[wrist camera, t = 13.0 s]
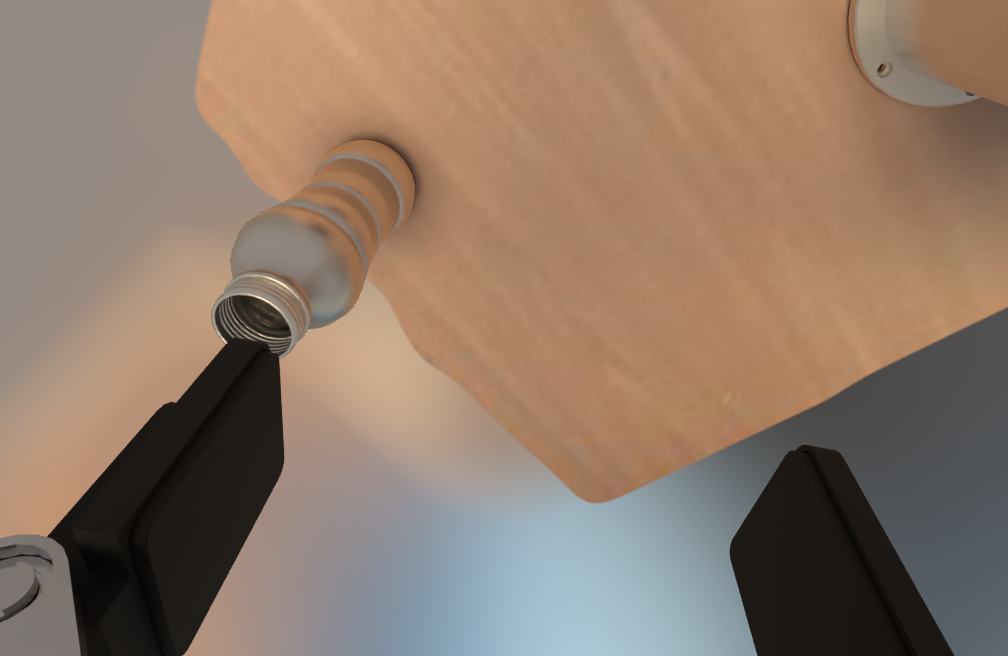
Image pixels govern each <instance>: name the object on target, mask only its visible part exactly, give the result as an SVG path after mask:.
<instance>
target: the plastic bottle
mask: <svg viewBox="0 0 1008 656" xmlns="http://www.w3.org/2000/svg"><path fill="white" fill-rule="evenodd" d="M414 197H415V184H414V179H413V176H412V173H411V171H410V169H409V167H408V165H407V164H406V163H405V161H404V160H403V159H402V157H401V156H399V155H398V154H397V153H396V152H395V151H394V150H392V149H391V148H389V147H388V146H386V145H384V144H381V143H379V142H376V141H372V140H355V141H350V142H347V143H343V144H341V145H339V146H336V147H335V148H333V149H332V150H331V151H329V152H328V154H327V155H326V156H325V157H324V159H323V160H322V162H321V163H320V165H319V166H318V169H317V171H316V173H315V175H314V177H313V179H312V180H311V181H310V183H309V184H308V185H307V186H306V188H304V189H303V190H302V191H300V192H299V193H297V194H296V195H295V196H293V197H292V198H291V199H289V200H286V201H284V202H282V203H280V204H278V205H276V206H274V207H272V208H270V209H268V210H266V211H263V212H262V213H260V214H259V215H257V216H256V217H254V218H252V219H251V220H250V221H248V222H247V223H246V224H245V225H244V226H243V228H242V229H241V230H240V231H239V233H238V236H237V238H236V241H235V244H234V246H233V249H232V252H231V259H230V263H231V272H232V276H233V279H232V281H231V282H230V283H229V284H228V285H227V286H226V288H225V291H224V293H223V294H222V295H221V296H220V297H219V298H218V299H217V301H216V302H215V304H214V306H213V309H212V314H211V318H212V324H213V326H214V329H215V331H216V333H217V335H218V336H219V337H220V339H221V340H222V341H223V342H224V343H225V344H226V343H227V342H228V341H229V340H230V339H232V338H234V337H237V338H242V339H248V340H253V341H258V342H263V343H267V344H268V345H269V347H270V352H272V353H276V354H278V356H279V359H281V358H283V357H285V356H286V355H287V354H288V353H290V352H291V351H292V350H293V348H294V347H295V345H296V343H297V342H298V341H299V340H300V339H301V338H302V337H303V336H304V335H305V333H306V332H307V330H308V329H315V328H321V327H324V326H327V325H329V324H331V323H333V322H335V321H336V320H338V319H340V318H341V317H343V316H344V315H346V314H347V313H348V312H349V311H350V310H351V309H352V308H353V307H354V305H355V303H356V302H357V300H358V298H359V295H360V293H361V291H362V288H363V284H364V281H365V278H366V274H367V271H368V268H369V264H370V262H371V260H372V258H373V256H374V254H375V252H376V250H377V248H378V246H379V245H380V244H381V243H382V242H383V241H384V240H385V238H386V237H387V236H389V235H390V234H392V233H393V232H395V231H396V230H397V229H398V228H399V227H400V226H401V225H402V224H403V223H404V222H405V221H406V220H407V219H408V217H409V215H410V214H411V211H412V208H413V204H414Z"/></svg>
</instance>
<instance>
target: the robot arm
mask: <svg viewBox="0 0 1008 656" xmlns="http://www.w3.org/2000/svg"><path fill="white" fill-rule="evenodd" d="M848 22H849V40H850V44H851V48H852V52H853V55H854V59H855V61H856V63H857V64H858V66H859V68H860V70H861V72H862V74H863V75H864V76H865V77H866V78H867V79H868V80H869V81H870V83H871V84H872V85H873V86H874V87H875V88H877V89H878V90H880V91H882V92H883V93H885V94H886V95H888V96H890V97H892V98H894V99H897V100H899V101H902V102H904V103H908V104H912V105H917V106H922V107H946V106H952V105H958V104H963V103H968V102H971V101H973V100H976V99H979V98H982V97H983V98H986V99H989V100H992V101H995V102H997V103H1000V104H1003V105H1006V106H1008V0H851V3H850V10H849V17H848ZM881 64H882V68H881V69H880V70H879V71H878V72H877V69H878V67H879V66H880V65H881ZM280 386H281V385H280V366H279V356H278V354H276V353H272V352H270V347H269V345H268V344H267V343H263V342H258V341H253V340H248V339H242V338H237V337H234V338H232V339H230V340H229V341H228V342H227V343H226V345H225V346H224V347H223V348H222V349H221V351H220V352H219V353H218V354H217V355H216V356H215V358H214V359H213V360H212V361H211V363H210V364H209V365H208V366H207V367H206V368H205V370H204V371H203V372H202V373H201V374H200V375H199V377H198V378H197V379H196V380H195V381H194V383H193V384H192V385H191V386H190V387H189V388H188V390H187V391H186V392H185V393H184V394H183V395H182V397H181V398H180V399H179V400H178V401H177V403H174V402H169V403H167V404H165V405H163V406H162V407H161V408H160V409H159V410H158V411H157V412H156V413H155V414H154V415H153V416H152V417H151V418H150V420H149V421H148V422H147V423H146V424H145V425H144V426H143V428H142V429H141V430H140V431H139V432H138V433H137V434H136V436H135V437H134V438H133V439H132V440H131V441H130V442H129V444H128V445H127V446H126V447H125V448H124V449H123V451H122V452H121V453H120V454H119V455H118V456H117V457H116V458H115V460H114V461H113V462H112V463H111V464H110V465H109V467H108V468H107V469H106V470H105V471H104V472H103V473H102V475H101V476H100V477H99V478H98V479H97V480H96V481H95V483H94V484H93V485H92V486H91V487H90V488H89V490H88V491H87V492H86V493H85V494H84V495H83V496H82V497H81V499H80V500H79V501H78V502H77V503H76V504H75V505H74V507H73V508H72V509H71V510H70V511H69V512H68V513H67V515H66V516H65V517H64V518H63V519H62V520H61V522H60V523H59V524H58V525H57V526H56V527H55V529H53V531H52V532H51V533H50V534H49V535H48V536H47V537H44V536H40V535H14V536H10V537H5V538H0V656H182V655H184V654H185V652H186V651H187V649H188V648H189V646H190V644H191V643H192V640H193V639H194V637H195V635H196V633H197V631H198V629H199V628H200V626H201V624H202V622H203V620H204V618H205V616H206V614H207V612H208V611H209V609H210V607H211V605H212V603H213V601H214V599H215V598H216V596H217V594H218V592H219V590H220V588H221V586H222V584H223V582H224V580H225V579H226V577H227V575H228V573H229V571H230V569H231V567H232V565H233V564H234V562H235V560H236V558H237V556H238V554H239V552H240V550H241V549H242V547H243V545H244V543H245V541H246V539H247V537H248V535H249V534H250V532H251V530H252V528H253V526H254V524H255V522H256V520H257V518H258V516H259V515H260V513H261V511H262V509H263V507H264V505H265V503H266V501H267V500H268V498H269V496H270V494H271V492H272V490H273V488H274V486H275V485H276V483H277V481H278V479H279V476H280V475H281V472H282V468H283V464H284V442H283V423H282V405H281V387H280ZM730 559H731V563H732V567H733V570H734V574H735V577H736V581H737V584H738V587H739V591H740V595H741V599H742V602H743V605H744V609H745V613H746V616H747V620H748V623H749V627H750V631H751V634H752V637H753V641H754V645H755V648H756V651H757V655H758V656H954V654H953V653H952V651H951V649H950V647H949V646H948V644H947V642H946V640H945V638H944V636H943V635H942V633H941V631H940V629H939V628H938V626H937V624H936V622H935V620H934V619H933V617H932V615H931V613H930V612H929V610H928V608H927V606H926V604H925V603H924V601H923V599H922V597H921V595H920V594H919V592H918V590H917V588H916V587H915V585H914V583H913V581H912V579H911V578H910V576H909V574H908V572H907V571H906V569H905V567H904V565H903V563H902V562H901V560H900V558H899V556H898V554H897V553H896V551H895V549H894V547H893V546H892V544H891V542H890V540H889V539H888V537H887V535H886V533H885V531H884V529H883V528H882V526H881V524H880V522H879V521H878V519H877V517H876V515H875V513H874V512H873V510H872V508H871V506H870V504H869V503H868V501H867V499H866V498H865V496H864V494H863V492H862V491H861V488H860V487H859V485H858V483H857V481H856V479H855V478H854V476H853V474H852V473H851V471H850V469H849V467H848V465H847V463H846V462H845V460H844V458H843V457H842V455H841V454H840V453H839V452H837V451H836V450H831V449H826V448H820V447H815V446H810V445H802V446H800V447H798V449H797V450H796V451H790V452H788V454H786V456H785V457H784V459H783V461H782V462H781V464H780V465H779V467H778V469H777V470H776V472H775V473H774V475H773V476H772V478H771V479H770V481H769V483H768V484H767V486H766V487H765V489H764V490H763V492H762V494H761V495H760V497H759V498H758V500H757V501H756V503H755V505H754V506H753V508H752V509H751V511H750V513H749V514H748V516H747V517H746V519H745V520H744V522H743V524H742V525H741V527H740V528H739V530H738V531H737V533H736V535H735V536H734V538H733V540H732V542H731V546H730Z"/></svg>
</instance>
